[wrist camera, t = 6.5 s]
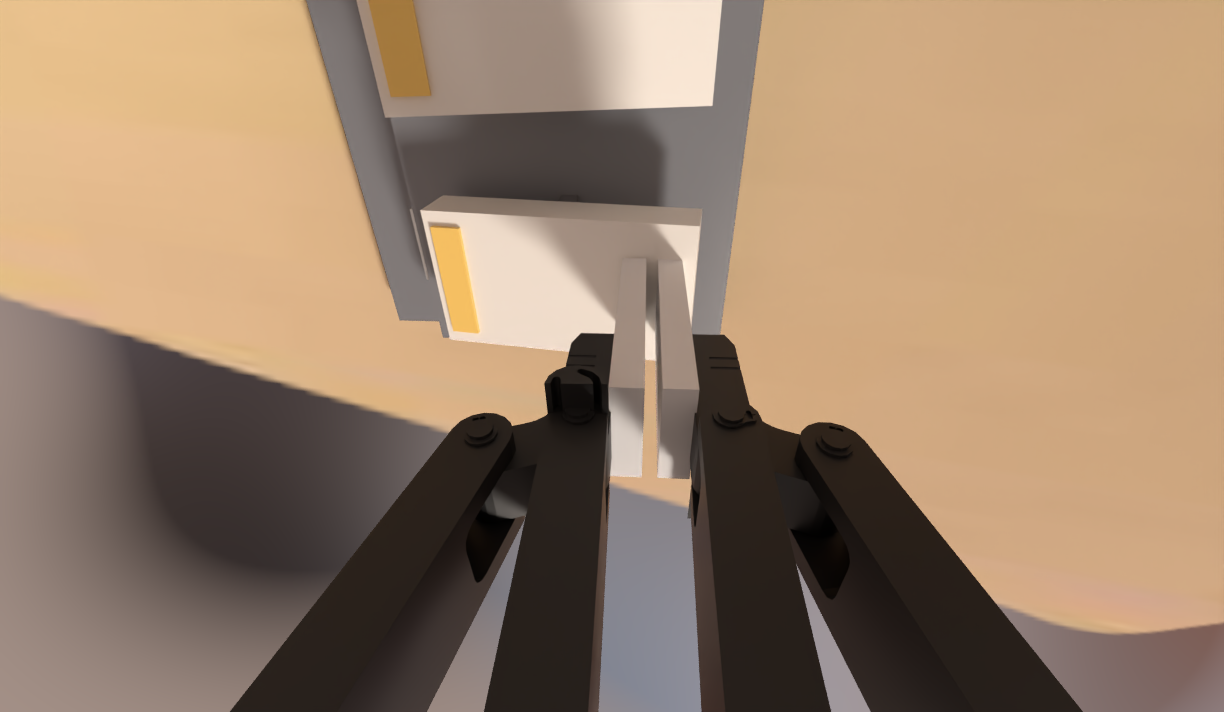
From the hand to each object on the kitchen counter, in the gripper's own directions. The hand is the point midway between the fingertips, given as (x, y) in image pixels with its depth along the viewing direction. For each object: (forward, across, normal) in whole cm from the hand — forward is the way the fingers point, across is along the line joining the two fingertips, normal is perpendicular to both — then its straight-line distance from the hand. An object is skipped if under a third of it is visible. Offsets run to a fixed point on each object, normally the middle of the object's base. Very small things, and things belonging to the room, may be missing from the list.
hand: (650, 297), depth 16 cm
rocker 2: (+1, +3, 0) cm, 3 cm away
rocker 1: (+1, +3, -8) cm, 9 cm away
